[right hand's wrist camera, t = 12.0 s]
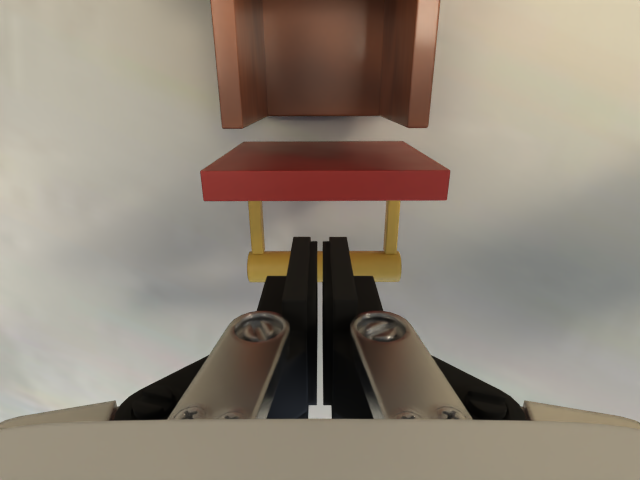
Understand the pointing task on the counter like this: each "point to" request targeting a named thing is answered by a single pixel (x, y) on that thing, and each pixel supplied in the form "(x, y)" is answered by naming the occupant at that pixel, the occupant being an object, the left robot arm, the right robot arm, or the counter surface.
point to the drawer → (325, 111)
